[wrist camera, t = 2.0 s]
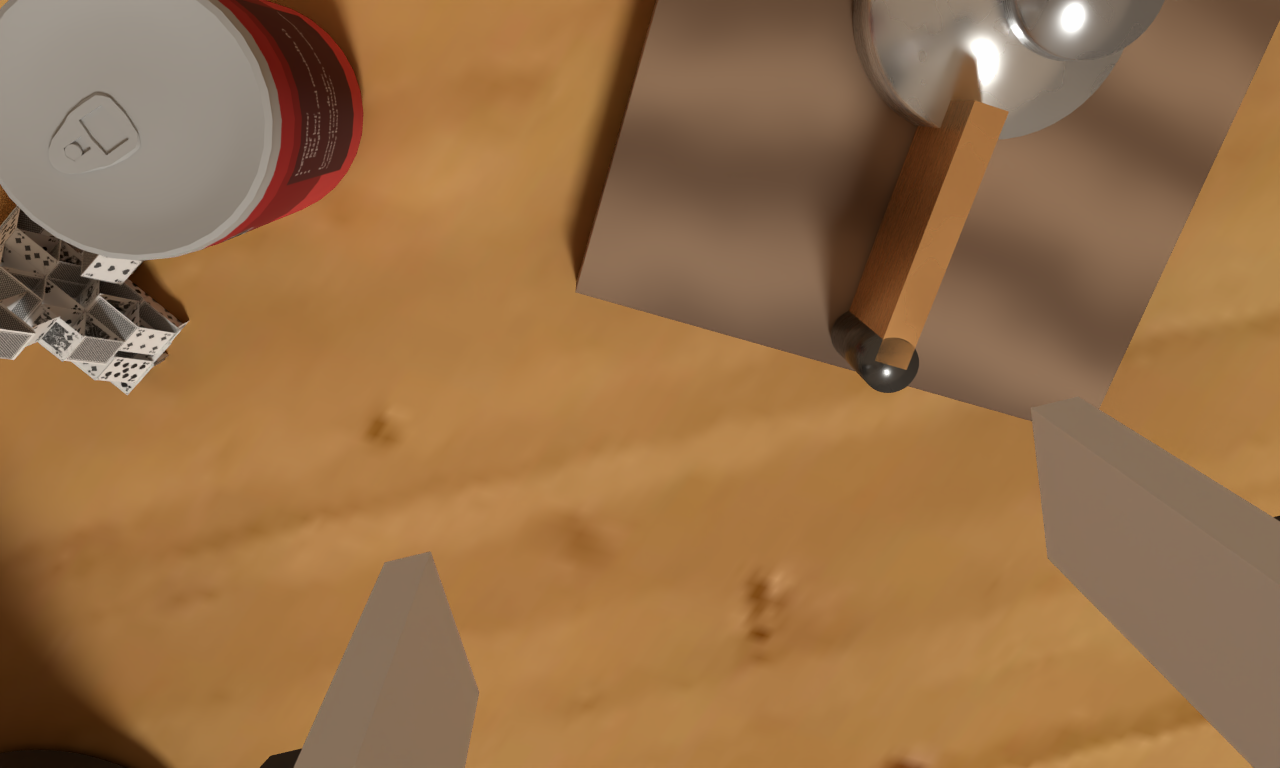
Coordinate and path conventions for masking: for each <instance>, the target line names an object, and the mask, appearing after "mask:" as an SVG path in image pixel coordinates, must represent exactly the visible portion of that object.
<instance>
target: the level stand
mask: <svg viewBox="0 0 1280 768" xmlns="http://www.w3.org/2000/svg"><path fill="white" fill-rule="evenodd" d="M1279 21H1280V0H1165V1H1164V3H1163V5H1162V7H1161V9H1160V11H1159V13H1158V14H1157V16H1156V18H1155V19H1154V21H1153V22H1152V23H1151V25H1150V26H1149V27H1148V28H1147V30H1146V31H1145V32H1144V33H1143V34H1142V35H1141V36H1140V37H1139V38H1137V39H1136V40H1135V41H1134V42H1132V43H1131V44H1130V45H1128V46H1127V47H1125V48H1124V50H1123V52H1122V54H1121V56H1120V58H1119V60H1118V61H1117V63H1116V64H1115V66H1114V68H1113V69H1112V71H1111V72H1110V74H1109V75H1108V77H1107V78H1106V79H1105V80H1104V82H1103V83H1102V84H1101V85H1100V87H1099V88H1098V89H1097V90H1096V91H1095V92H1094V93H1093V94H1092V95H1091V96H1090V97H1089V98H1088V99H1087V100H1086V101H1085V102H1084V103H1083V104H1082V105H1080V106H1079V107H1078V108H1077V109H1075V110H1074V111H1073V112H1072V113H1070V114H1069V115H1067V116H1066V117H1064V118H1062V119H1061V120H1059V121H1058V122H1056V123H1054V124H1052V125H1050V126H1048V127H1046V128H1044V129H1041V130H1039V131H1037V132H1033V133H1030V134H1027V135H1024V136H1020V137H1014V138H1009V139H998V141H997V143H996V146H995V148H994V151H993V153H992V156H991V158H990V161H989V163H988V166H987V169H986V171H985V174H984V176H983V179H982V181H981V184H980V186H979V189H978V191H977V194H976V196H975V199H974V201H973V204H972V206H971V209H970V211H969V214H968V216H967V219H966V221H965V224H964V226H963V229H962V232H961V234H960V237H959V239H958V242H957V244H956V247H955V249H954V252H953V254H952V257H951V259H950V262H949V264H948V267H947V269H946V272H945V274H944V277H943V279H942V282H941V284H940V287H939V289H938V292H937V295H936V297H935V300H934V302H933V305H932V307H931V310H930V312H929V315H928V317H927V320H926V322H925V325H924V327H923V330H922V332H921V335H920V337H919V340H918V342H917V345H916V347H915V349H916V351H917V353H918V357H919V368H918V372H917V374H916V376H915V378H914V379H913V381H912V382H911V383H910V384H909V385H908V386H909V387H913V388H916V389H920V390H923V391H927V392H930V393H934V394H938V395H941V396H945V397H948V398H952V399H955V400H959V401H962V402H966V403H969V404H973V405H977V406H980V407H984V408H987V409H991V410H994V411H998V412H1001V413H1005V414H1008V415H1012V416H1015V417H1019V418H1023V419H1026V420H1030V421H1032V414H1031V408H1032V407H1037V406H1041V405H1045V404H1049V403H1053V402H1057V401H1062V400H1066V399H1070V398H1074V397H1080V398H1081V399H1083V400H1084V401H1086V402H1088V403H1089V404H1091V405H1093V406H1094V407H1096V408H1097V409H1099V408H1100V406H1101V404H1102V401H1103V399H1104V397H1105V395H1106V393H1107V391H1108V389H1109V386H1110V384H1111V382H1112V380H1113V378H1114V376H1115V373H1116V371H1117V369H1118V367H1119V365H1120V363H1121V361H1122V358H1123V356H1124V354H1125V352H1126V350H1127V348H1128V346H1129V343H1130V341H1131V339H1132V337H1133V335H1134V333H1135V330H1136V328H1137V326H1138V324H1139V322H1140V320H1141V318H1142V315H1143V313H1144V311H1145V309H1146V307H1147V305H1148V302H1149V300H1150V298H1151V296H1152V294H1153V292H1154V290H1155V287H1156V285H1157V283H1158V281H1159V279H1160V277H1161V274H1162V272H1163V270H1164V268H1165V266H1166V264H1167V262H1168V259H1169V257H1170V255H1171V253H1172V251H1173V249H1174V247H1175V244H1176V242H1177V240H1178V238H1179V236H1180V234H1181V231H1182V229H1183V227H1184V225H1185V223H1186V221H1187V219H1188V216H1189V214H1190V212H1191V210H1192V208H1193V206H1194V203H1195V201H1196V199H1197V197H1198V195H1199V193H1200V191H1201V188H1202V186H1203V184H1204V182H1205V180H1206V178H1207V175H1208V173H1209V171H1210V169H1211V167H1212V165H1213V163H1214V160H1215V158H1216V156H1217V154H1218V152H1219V150H1220V147H1221V145H1222V143H1223V141H1224V139H1225V137H1226V135H1227V132H1228V130H1229V128H1230V126H1231V124H1232V122H1233V120H1234V117H1235V115H1236V113H1237V111H1238V109H1239V107H1240V104H1241V102H1242V100H1243V98H1244V96H1245V94H1246V92H1247V89H1248V87H1249V85H1250V83H1251V81H1252V79H1253V76H1254V74H1255V72H1256V70H1257V68H1258V66H1259V64H1260V61H1261V59H1262V57H1263V55H1264V53H1265V51H1266V48H1267V46H1268V44H1269V42H1270V40H1271V38H1272V36H1273V33H1274V31H1275V29H1276V27H1277V25H1278V23H1279ZM916 129H917V126H915V125H914V124H912V123H910V122H909V121H907V120H905V119H903V118H902V117H901V116H900V115H898V114H897V113H896V112H895V111H893V110H892V109H891V108H890V107H889V106H888V105H887V104H886V103H885V102H884V101H883V100H882V99H881V97H880V96H879V95H878V93H877V92H876V90H875V89H874V88H873V86H872V85H871V83H870V81H869V79H868V77H867V75H866V73H865V72H864V70H863V67H862V64H861V61H860V58H859V56H858V52H857V48H856V43H855V38H854V29H853V0H656V2H655V6H654V9H653V13H652V16H651V20H650V23H649V27H648V30H647V34H646V37H645V41H644V45H643V48H642V52H641V55H640V59H639V62H638V66H637V69H636V73H635V76H634V80H633V83H632V87H631V91H630V94H629V98H628V101H627V105H626V108H625V112H624V115H623V119H622V122H621V126H620V129H619V133H618V137H617V140H616V144H615V147H614V151H613V154H612V158H611V161H610V165H609V168H608V172H607V176H606V179H605V183H604V186H603V190H602V193H601V197H600V200H599V204H598V207H597V211H596V214H595V218H594V222H593V225H592V229H591V232H590V236H589V239H588V243H587V246H586V250H585V253H584V257H583V260H582V264H581V268H580V271H579V275H578V278H577V282H576V292H577V293H580V294H584V295H587V296H591V297H594V298H598V299H601V300H605V301H608V302H612V303H615V304H619V305H623V306H626V307H630V308H633V309H637V310H640V311H644V312H647V313H651V314H654V315H658V316H661V317H665V318H669V319H672V320H676V321H679V322H683V323H686V324H690V325H693V326H697V327H700V328H704V329H708V330H711V331H715V332H718V333H722V334H725V335H729V336H732V337H736V338H739V339H743V340H746V341H750V342H754V343H757V344H761V345H764V346H768V347H771V348H775V349H778V350H782V351H785V352H789V353H792V354H796V355H800V356H803V357H807V358H810V359H814V360H817V361H821V362H824V363H828V364H831V365H835V366H838V367H842V368H846V369H849V370H853V371H855V370H854V369H853V368H852V367H851V366H850V365H849V364H848V363H847V361H846V360H845V359H844V358H843V357H842V356H841V355H840V354H839V353H838V352H837V351H836V350H835V348H834V347H833V344H832V341H831V330H832V327H833V325H834V323H835V321H836V320H837V319H838V318H839V317H840V316H841V315H842V314H844V313H845V312H847V311H849V310H850V307H851V304H852V301H853V299H854V296H855V293H856V291H857V288H858V285H859V283H860V280H861V277H862V274H863V272H864V269H865V266H866V264H867V261H868V258H869V256H870V253H871V250H872V248H873V245H874V242H875V239H876V237H877V234H878V231H879V229H880V226H881V223H882V221H883V218H884V215H885V213H886V210H887V207H888V204H889V202H890V199H891V196H892V194H893V191H894V188H895V186H896V183H897V180H898V177H899V175H900V172H901V169H902V167H903V164H904V161H905V159H906V156H907V153H908V151H909V148H910V145H911V142H912V140H913V137H914V134H915V132H916Z"/></svg>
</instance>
